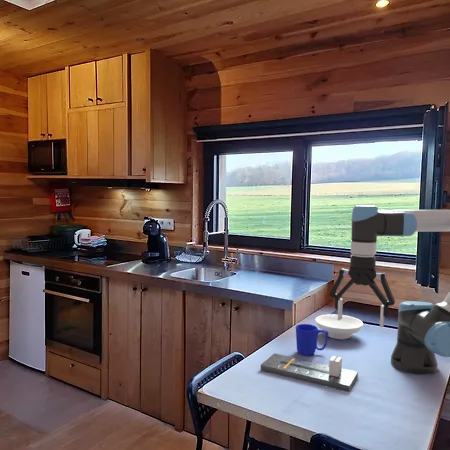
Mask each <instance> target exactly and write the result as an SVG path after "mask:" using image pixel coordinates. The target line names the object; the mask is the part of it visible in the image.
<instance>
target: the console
mask: <svg viewBox="0 0 450 450" xmlns="http://www.w3.org/2000/svg"><path fill="white" fill-rule="evenodd" d="M260 371H262V372H266V373H270V374H274V375H277V376H282V377H285V378H289V379H295V380H296V381H297V380H299V381H303V382H305V383H311V384H315V385H319V386H324V387H326V386H327V387H326V388H330V387H331V388H330V389H334V388H335V390H338V389H339V390H338V391H342V390H343V391H342V392H348V393H350V391H351V389H352V388H353V386H354V385H355V383H356V381H357V380H358V378H359V371H357V370H352V369H348V368H343V367H342V369H341V374H340V375H339V376H338V377H336V376H332V375H329V364H325V363H320V362H316V361H312V360H307V359H304V358H303V359H302V358H297V357H294V356H288V355H284V354H280V353H273V354H271V355H270V356H269V357H268V358H267V359H266V360H264V361H263V362H262V363H261V364H260Z"/></svg>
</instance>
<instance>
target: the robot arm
mask: <svg viewBox="0 0 450 450" xmlns="http://www.w3.org/2000/svg"><path fill="white" fill-rule="evenodd" d="M378 207H379V206H377V205H366V204H365V205H362V204H361V205H355V206H353V208H352V213H351V219H350V220H351V235H350V236H351V239H350V253H351V255H350V258H349V259H350V260H349V269H346V268H343V267H342V268H340V269H339V271H338V277H337V279H336V281H335V282H334V285H333V287H332V288H331V291H330V293H329V294H328V295H329V297H330V298H333V299H334V309H335V310H337V315H338V319H337V320H341V319H342V315H343V306H344V305H343V300H344V299H343V298H341V297H342V296H343V295H344V294H345V293H346V292H347V291H348V289H350V288H351V286H353V285H354V284H355V285H357V286H358V285H359V286H361V285H362V286H365V287H366V286H369V288H371V290H372V291H373V293H374V294H375V295H376V297H377V298H378V300H379V301H380V303H382V304H381V305H380V317H379V328H383V327H384V326H385V317H386V318H387V317H388V315H389V309H390V308H389V307H390V306H394V305H395V304H396V300H395V298H394V296H393V292H392V290H391V287H390V285H389V283H388V281H387V272H384V271H383V272H377V271H376V265H377V263H376V262H377V257H376V256H375V255H377V242H378V239H377V238H378V237H402V238H404V237H411V236H413V235H414V234H416V232H423V233H424V232H426V233H427V232H428V233H430V232H431V233H432V232H435V233H436V232H440V233H441V232H450V209H379V208H378ZM347 275H348V276H349V277H350V280H349V281H348V282H347V283H346V285H344V286H343V288H341V290H340V291H339V292H338V293H337V291H338V289H339V288H340V286H341V284H342V281H343V280H344V278H345V277H346V276H347ZM376 278H378V280H379V281H380V283H381V286H382V288H383V291H384V293H385V294H384V293H383V292H382V290H381V289H380V288H379V287H378V285H377V282H376V281H375V279H376ZM386 297H387V298H386ZM398 305H399V306H398V311H397V314H398V315H397V316H398V317H397V334H396V335H397V336H396V338H397V339H396V344H395V346H394V349H393V351H392V354H391V356H390V365H391V366H393V367H394V368H395V369H397V370H398V371H402V372H405V373H409V374H414V375H426V376H427V375H432V374H435V373H437V371H438V366H439V365H438V360H437V358H436V355H438V356H440V357H444V358H450V291H449V292H448V293H447V295H446V296H445V298H444V299H443V301H442V302H438V303H432V302H429V301H428V302H427V301H418V300H415V301H414V300H407V301H406V300H405V301H401V302H400V303H399V304H398Z"/></svg>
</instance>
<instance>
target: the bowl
mask: <svg viewBox="0 0 450 450" xmlns="http://www.w3.org/2000/svg"><path fill="white" fill-rule="evenodd" d="M337 319H338V313H337V314H333V313H331V314H322V315H318V316H317V317H315V323H316V326H317V328H318V329H319V330H325V331H328V337H329V338H331V339H335V340H336V339H337V340H347V339H349V338H351V337H352V335H353V334H357V333H358V332H360V331H361V329H362V328H363V325H364V323H363V321H362V320H360V319H359V318H356V317H353V316H351V315H350V316H349V315H344V314H342V319H341V320H337Z"/></svg>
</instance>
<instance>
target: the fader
mask: <svg viewBox="0 0 450 450" xmlns="http://www.w3.org/2000/svg"><path fill="white" fill-rule="evenodd" d="M342 363H343V357H340V356H337V355H335V356H334V355H332V356H331V358H330V359H329V363H328V365H329V375H332V376H336V377H338V376H339V375H340V374H341V369H342V368H343V367H342Z"/></svg>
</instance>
